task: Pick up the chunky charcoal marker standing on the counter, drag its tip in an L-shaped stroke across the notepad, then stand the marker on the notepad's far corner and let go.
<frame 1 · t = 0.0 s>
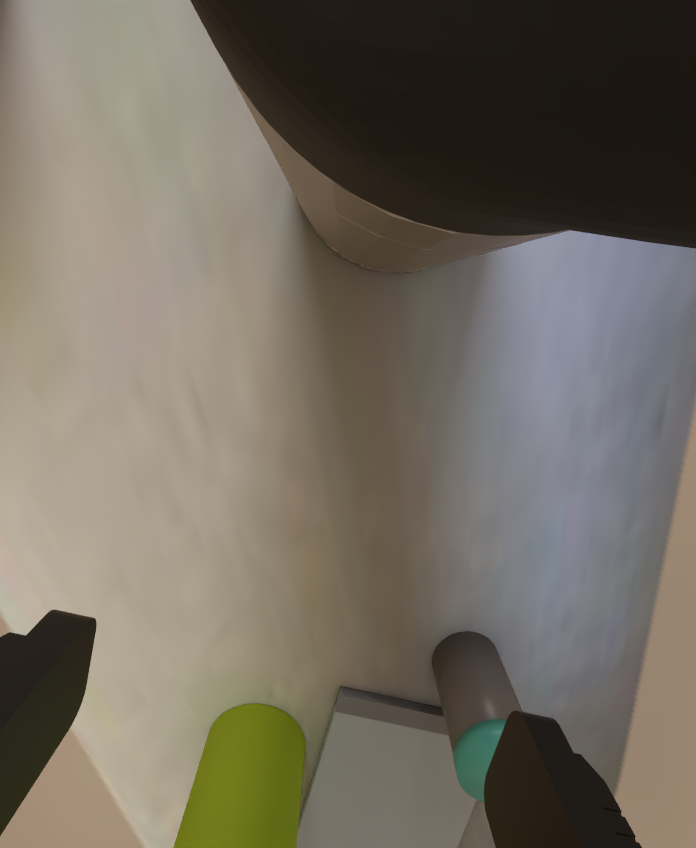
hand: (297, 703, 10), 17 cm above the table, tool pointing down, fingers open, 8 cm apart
notepad: (392, 788, 32), on the table
soap dispenser: (248, 741, 31), on the table
marker: (465, 660, 30), on the table
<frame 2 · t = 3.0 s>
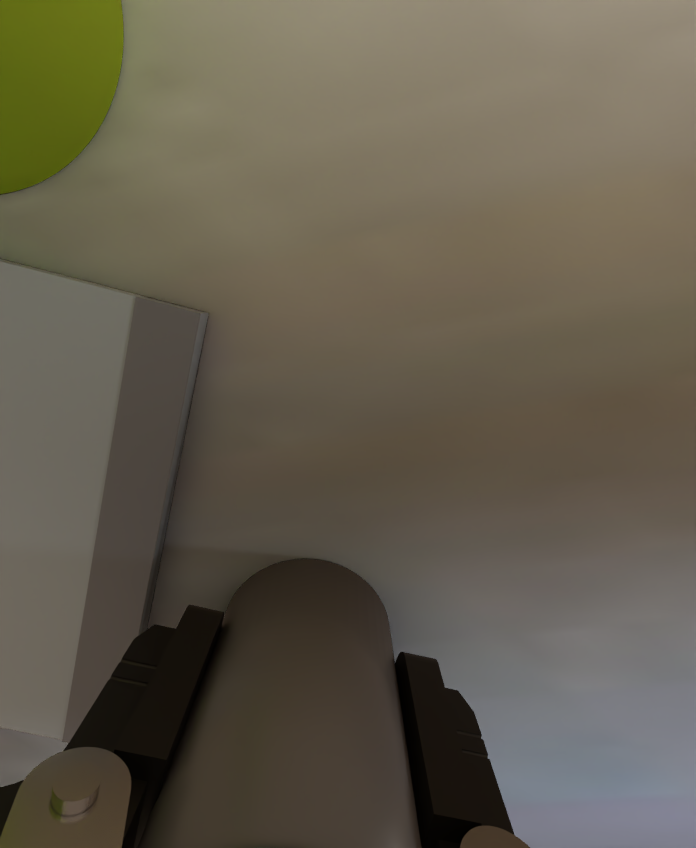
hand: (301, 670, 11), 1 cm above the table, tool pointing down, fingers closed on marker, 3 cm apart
marker: (306, 634, 12), on the table, touching gripper
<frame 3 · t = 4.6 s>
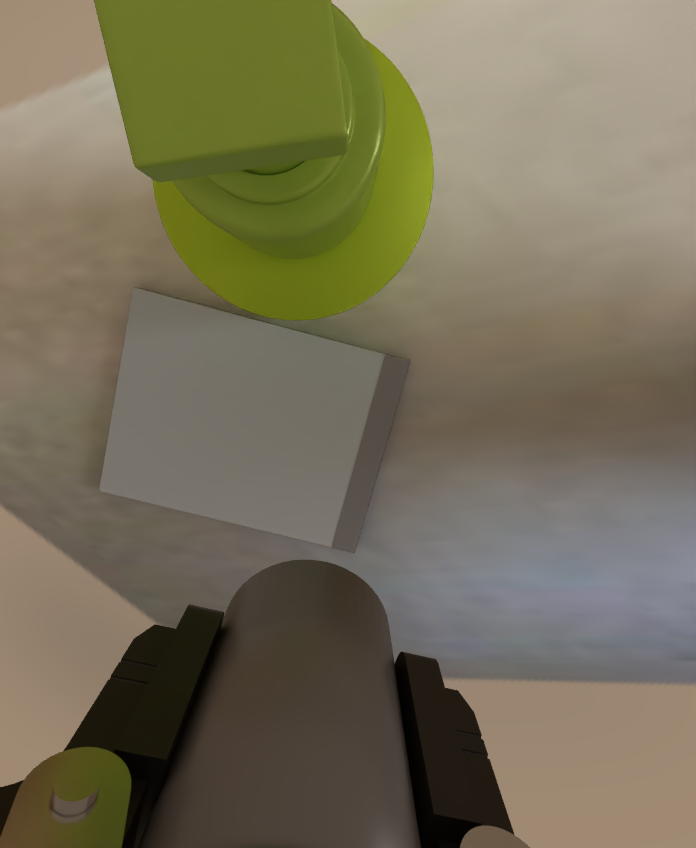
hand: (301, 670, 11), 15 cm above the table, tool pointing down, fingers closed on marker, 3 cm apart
notepad: (252, 425, 25), on the table
soap dispenser: (320, 236, 24), on the table
marker: (306, 635, 12), point 14 cm above the table, touching gripper
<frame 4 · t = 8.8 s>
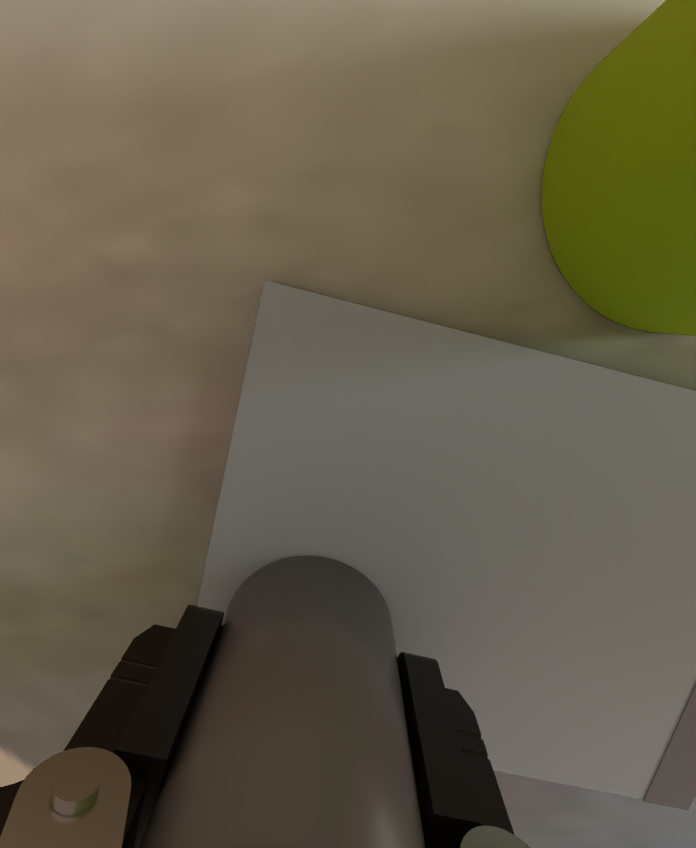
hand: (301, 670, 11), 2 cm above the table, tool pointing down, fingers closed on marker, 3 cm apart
notepad: (494, 565, 12), on the table
soap dispenser: (678, 160, 10), on the table
marker: (308, 632, 12), point 1 cm above the table, touching gripper
when the fingers open (2 cm above the table, at t = 10.0 s): marker stays where it is, resting on notepad.
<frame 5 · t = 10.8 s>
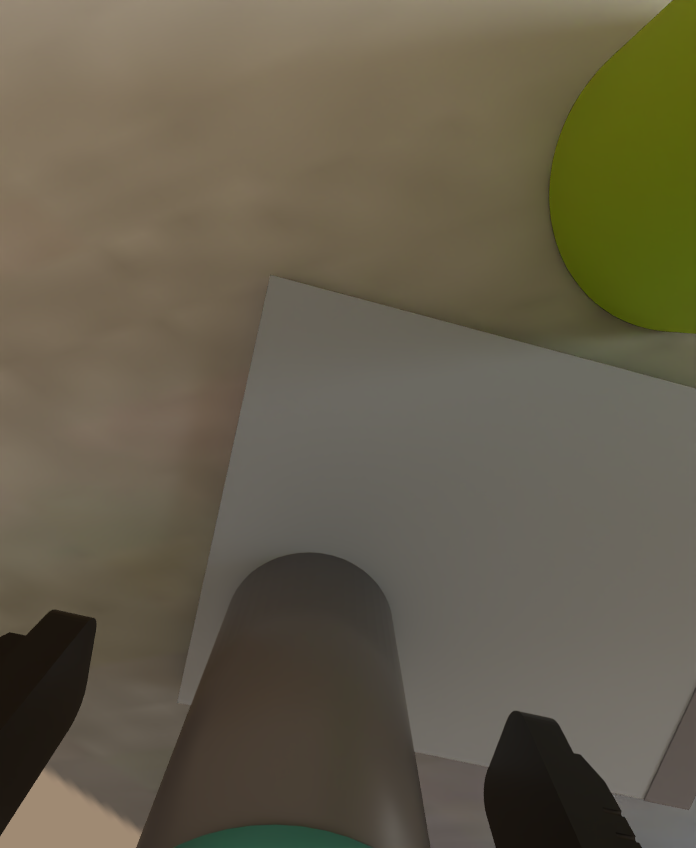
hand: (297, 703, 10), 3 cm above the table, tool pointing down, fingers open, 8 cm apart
notepad: (498, 563, 12), on the table
soap dispenser: (687, 157, 10), on the table
marker: (309, 629, 12), point 1 cm above the table, touching notepad
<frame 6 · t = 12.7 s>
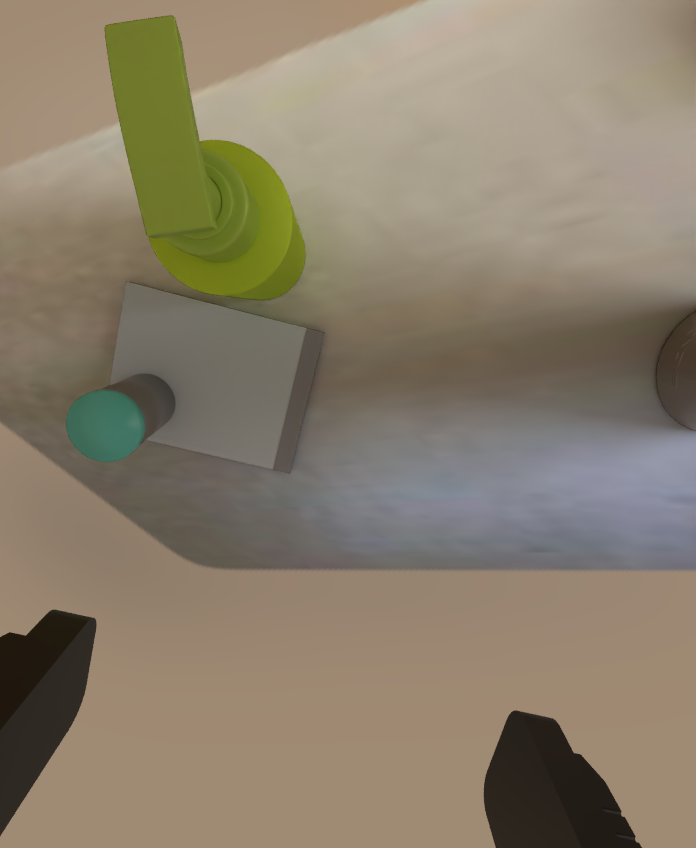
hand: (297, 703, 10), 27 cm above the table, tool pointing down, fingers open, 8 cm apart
notepad: (213, 380, 35), on the table
soap dispenser: (258, 245, 33), on the table
marker: (146, 401, 35), point 1 cm above the table, touching notepad
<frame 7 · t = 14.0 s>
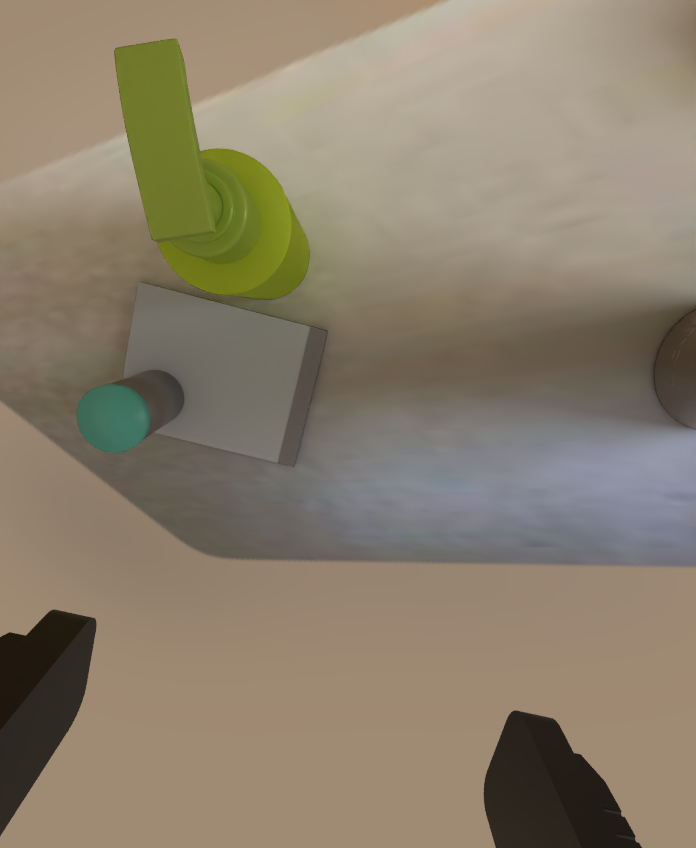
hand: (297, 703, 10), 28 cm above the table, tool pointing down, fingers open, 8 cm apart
notepad: (221, 377, 36), on the table
soap dispenser: (264, 246, 35), on the table
marker: (157, 396, 36), point 1 cm above the table, touching notepad
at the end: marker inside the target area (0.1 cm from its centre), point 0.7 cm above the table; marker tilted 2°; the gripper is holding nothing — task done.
